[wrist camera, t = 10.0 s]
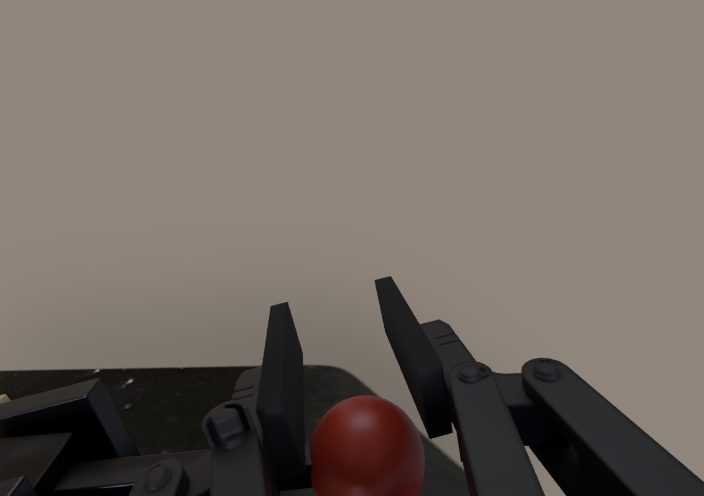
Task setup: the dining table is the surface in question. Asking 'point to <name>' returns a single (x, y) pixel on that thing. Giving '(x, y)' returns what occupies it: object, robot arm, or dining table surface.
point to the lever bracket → (67, 425)
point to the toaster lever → (320, 471)
